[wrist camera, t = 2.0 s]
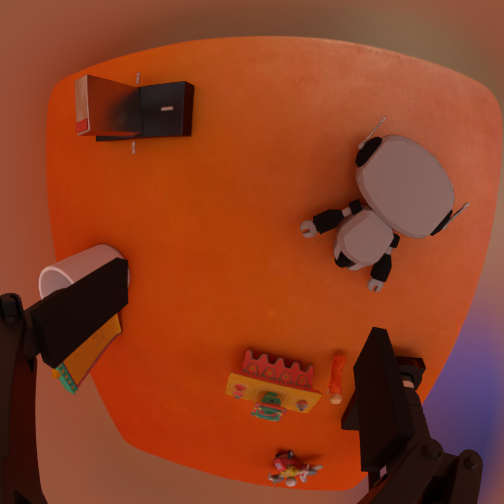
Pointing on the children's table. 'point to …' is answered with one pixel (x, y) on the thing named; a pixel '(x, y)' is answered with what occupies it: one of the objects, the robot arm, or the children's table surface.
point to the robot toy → (388, 204)
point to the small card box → (107, 108)
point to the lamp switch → (407, 380)
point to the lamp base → (405, 364)
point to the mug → (76, 268)
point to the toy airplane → (291, 469)
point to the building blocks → (239, 383)
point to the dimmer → (162, 111)
